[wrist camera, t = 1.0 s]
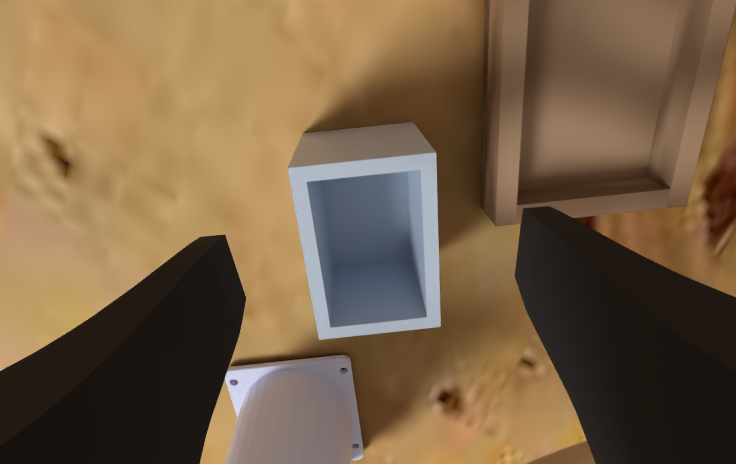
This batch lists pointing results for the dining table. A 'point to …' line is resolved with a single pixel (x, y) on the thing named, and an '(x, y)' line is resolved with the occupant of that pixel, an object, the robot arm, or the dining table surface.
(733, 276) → the dining table surface
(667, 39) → the shallow brown tray
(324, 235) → the small crate
